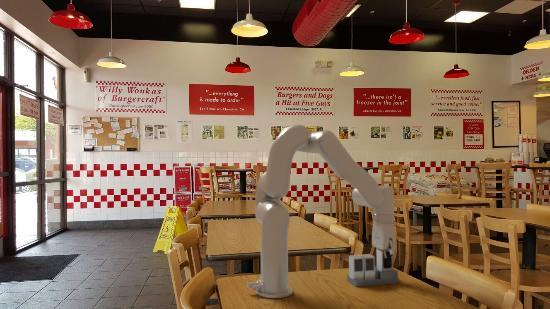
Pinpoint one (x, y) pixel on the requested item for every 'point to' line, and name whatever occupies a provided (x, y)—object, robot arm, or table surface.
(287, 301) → the table surface
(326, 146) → the robot arm
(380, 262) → the pale grey block
